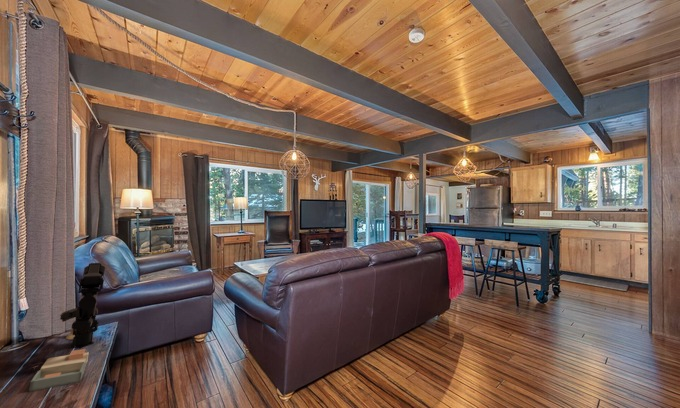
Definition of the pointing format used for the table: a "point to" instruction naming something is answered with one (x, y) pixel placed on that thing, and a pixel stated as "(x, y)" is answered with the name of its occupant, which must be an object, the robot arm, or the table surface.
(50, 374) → the tile
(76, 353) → the tile
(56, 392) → the table surface
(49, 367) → the shallow cream tray
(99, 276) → the robot arm
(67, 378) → the tray
